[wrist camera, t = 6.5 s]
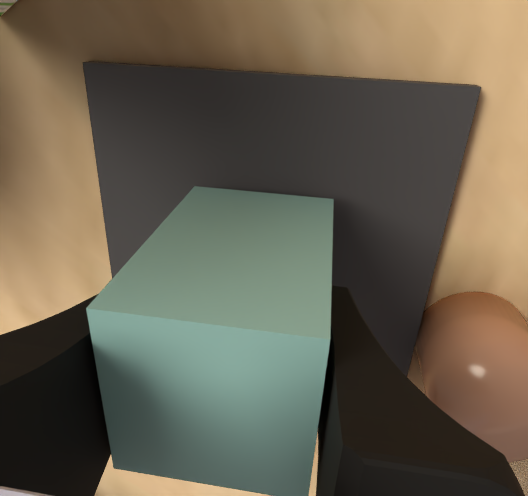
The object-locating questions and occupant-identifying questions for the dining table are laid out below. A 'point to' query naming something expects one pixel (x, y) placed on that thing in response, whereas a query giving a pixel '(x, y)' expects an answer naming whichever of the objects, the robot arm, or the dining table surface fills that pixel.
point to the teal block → (220, 342)
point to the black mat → (291, 166)
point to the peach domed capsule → (478, 367)
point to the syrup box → (6, 5)
